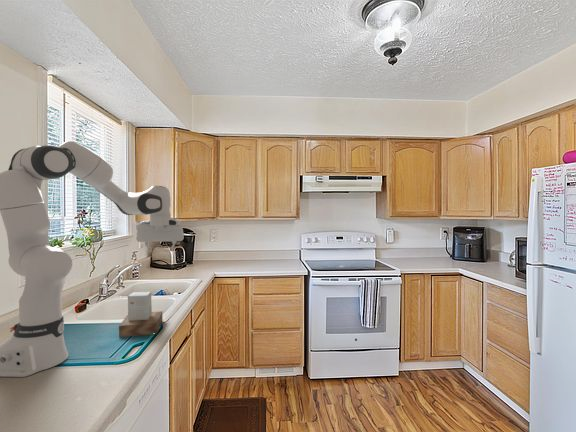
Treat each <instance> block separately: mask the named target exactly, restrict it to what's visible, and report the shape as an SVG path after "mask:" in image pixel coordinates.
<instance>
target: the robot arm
mask: <svg viewBox="0 0 576 432" xmlns="http://www.w3.org/2000/svg"><path fill="white" fill-rule="evenodd" d="M67 174H71V175H73V176H75V177H76V178H77V179H79V180H80V181H82V182H83V183H85V184H87V185H89V186H90V187H92V188H93V189H95V191H98V192H99V193H100V194H101V195H103V196H104V197H106V198H107V199H108V200H110V201H111V202H113V204H114V205H115V206H116V207H117V208H118V210H119V211H120V212H121V213H122V214H124V215H127V216H134V215H137V216H140V215H141V216H144V215H145V216H146V215H149V221H148V220H147V221H143V220H142V221H139V222H137V224H136V225H135V228H136V241H137V242H138V243H143V242H144V245H145V246H146V247H145V248H146V249H147V252H152V251H153V247H151V246H150V243H152V242H157V243H158V242H171V244H172V245H171V246H170V247H169V252H173V251H174V247H175V245H176V244H177V242H183V240H184V237H185V236H184V229H183V226H182V225H181V224H182V220H180V219H176V218H173V217H172V216H171V215H172V214H171V212H170V211H171V210H170V209H171V193H170V190H169V189H168V188H167V187H166V186H162V185H152V186H151V187H150V188H148V189H147V190H144V191H142V192H128V191H125V190H123V189H122V188H120V187H119V186H118V185H116V184H115V183H114V182H113V181H112V178H113V176H114V169H113V167H112V165H111V163H109V162H108V161H107V160H105V159H104V158H103V157H102V156H100V155H99V154H98V153H96V152H95V151H93V150H91V149H90V148H88V147H87V146H86V145H82V144H81V143H78V142H76V141H74V140H67V141H65V142H63V143H61V144H60V145H59V146H56V145H49V144H47V145H45V144H44V145H33V146H29V147H25V148H22V149H19V150H18V151H16V152H15V153H14V154H13V155H12V158H11V159H10V163H9V167H8V169H7V170H5V171H2V172H0V215H1V219H2V222H3V225H4V228H5V231H6V236H7V246H8V254H9V256H8V265H9V267H10V268H11V270H12V271H14V273H15V274H17V275H18V276H22V277H24V278H25V283H24V287H23V291H22V294H21V296H20V297H19V300H18V309H19V310H18V317H19V319H18V321H19V322H18V323H16V324H14V326H12V327H10V329H9V330H10V331H9V332H10V333H11V332H13V335H11V336H10V337H8V338H7V339H5V340H4V341H3V342H2V343H1V344H0V377H6V378H10V377H11V378H13V377H15V378H16V377H18V378H24V377H25V378H26V377H28V376H31V375H33V374H36V373H39V372H40V371H43V370H47V369H51V368H53V367H55V366H58V365H60V364H61V363H63V362H65V361H66V360H67V359H68V358H69V352H68V349H67V347H66V342H65V338H64V331H65V324H64V323H65V320H64V315H63V307H62V306H63V302H62V301H63V289H64V286H65V281H66V278H67V276H68V275H69V273H70V272H71V270H72V268H73V259H72V258H71V257H72V256H70V255H69V254H68V253H67V252H66V251H65V250H63V249H61V248H59V247H55V246H51V245H50V239H49V233H50V231H49V230H50V228H51V221H50V218H49V214H48V211H47V208H46V207H47V206H46V204H45V201H44V198H43V194H42V184H43V182H44V181H48V180H56V179H60V178H62V177H65V176H66V175H67Z"/></svg>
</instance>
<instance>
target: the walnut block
mask: <svg viewBox="0 0 576 432" xmlns="http://www.w3.org/2000/svg"><path fill="white" fill-rule="evenodd" d="M163 322H164V321H163V311H152V315H151V316H150V318H149V319H148V320H134V321H128V314H127V315H126V316H125V317H124V319H123V320H122V321H121V323H120V324H119V325H118V335H119V337H118V338H124V337H134V336H149V335H157V334H158V332H159V330H160V327H161V325H162V323H163ZM153 333H155V334H153Z"/></svg>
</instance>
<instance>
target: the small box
mask: <svg viewBox="0 0 576 432" xmlns="http://www.w3.org/2000/svg"><path fill="white" fill-rule="evenodd" d="M152 307H153V306H152V292H151V291H136V292H135V291H134V292H131V293H130V294H129V295H128V296H127V315H128V321H134V320H148V319H149V318H150V316H151V315H152V312H153V311H152V310H153V309H152Z"/></svg>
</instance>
